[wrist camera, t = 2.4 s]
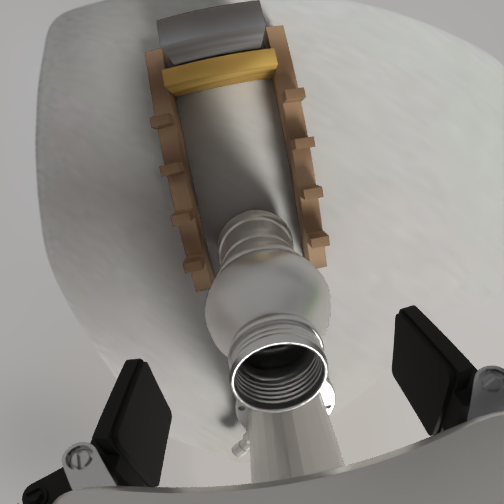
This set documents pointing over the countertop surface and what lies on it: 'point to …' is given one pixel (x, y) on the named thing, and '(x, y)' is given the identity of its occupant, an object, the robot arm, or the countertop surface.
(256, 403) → the grey bulging hollow cylinder
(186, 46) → the wooden peg rack
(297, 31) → the countertop surface
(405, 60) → the countertop surface
